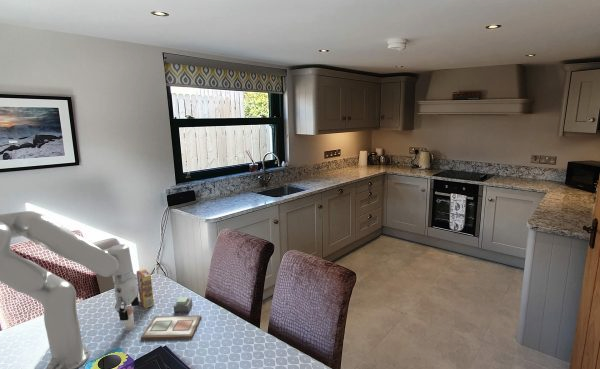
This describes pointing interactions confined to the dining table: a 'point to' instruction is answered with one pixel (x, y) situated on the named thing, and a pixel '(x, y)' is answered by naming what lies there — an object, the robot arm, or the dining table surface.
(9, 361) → the dining table surface
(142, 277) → the candy box
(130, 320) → the cylinder
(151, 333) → the picture board
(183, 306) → the button housing
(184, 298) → the button
